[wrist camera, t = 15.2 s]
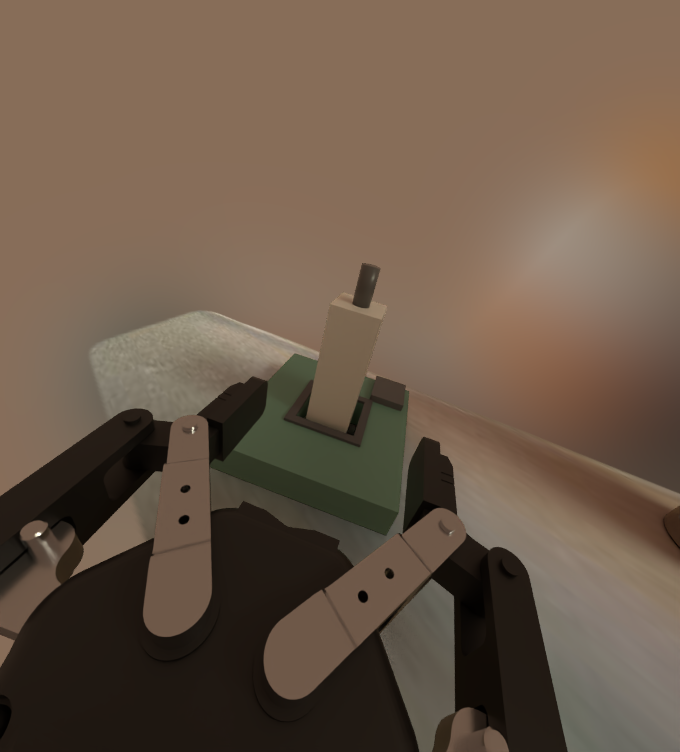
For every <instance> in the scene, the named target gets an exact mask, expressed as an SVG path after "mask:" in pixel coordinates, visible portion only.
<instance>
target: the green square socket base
mask: <svg viewBox="0 0 680 752" xmlns="http://www.w3.org/2000/svg"><path fill="white" fill-rule="evenodd" d="M317 364H318V361H316V360H313V359H310V358H307V357H304V356H301V355H298V354H294V355H293V356H292V357H291V358H290V359H289V360H288V361H287V362H286V363H285V364H284V365H283V366H282V367H281V368H280V369H279V370H278V371H277V372H276V373H275V374H274V375H273V377H272V378H271V379H270V380H269V381H268V389H267V400H266V407H265V410H264V412H263V414H262V416H261V417H260V418H259V420H258V421H257V422H256V423H255V424H254V426H253V427H252V428H251V429H250V430H249V431H248V433H247V434H246V435H245V436H244V437H243V439H242V440H241V441H240V442H239V443H238V445H237V446H236V447H235V448H234V449H233V450H232V452H231V453H230V454H229V455H228V456H227V458H226V459H225V460H224V461H223V462H222V461H219V460H217V459H214V460H213V461H212V462H211V464H210V467H211V468H214V469H216V470H219V471H222V472H224V473H227V474H229V475H232V476H234V477H237V478H240V479H242V480H245V481H247V482H250V483H252V484H255V485H258V486H260V487H263V488H265V489H268V490H270V491H273V492H275V493H278V494H281V495H283V496H286V497H288V498H291V499H293V500H296V501H299V502H301V503H304V504H306V505H309V506H311V507H314V508H317V509H319V510H322V511H324V512H327V513H329V514H332V515H335V516H337V517H340V518H342V519H345V520H347V521H350V522H352V523H355V524H358V525H360V526H363V527H365V528H368V529H370V530H373V531H376V532H378V533H381V534H383V535H386V534H387V533H388V531H389V529H390V527H391V525H392V524H393V522H394V520H395V518H396V516H397V515H398V513H399V503H400V491H401V480H402V468H403V457H404V445H405V434H406V422H407V411H408V399H409V391H407V390H405V387H406V385H403V384H400V383H397V382H394V381H391V380H388V379H385V378H382V377H379V376H377V377H376V380H374V379H371V378H368V377H365V379H364V382H363V385H362V388H361V391H360V394H359V397H358V400H357V403H356V407H355V410H354V413H353V416H352V419H351V422H350V423H352V424H355V425H357V427H356V430H355V433H354V436H352V435H349V434H347V433H344V432H341V431H338V430H335V429H333V428H330V427H327V426H324V425H321V424H319V423H316V422H313V421H310V420H307V419H304V418H305V417H306V415H307V411H308V406H309V401H310V397H311V392H312V387H313V382H314V378H315V373H316V368H317Z"/></svg>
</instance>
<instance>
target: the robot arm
mask: <svg viewBox="0 0 680 752" xmlns="http://www.w3.org/2000/svg"><path fill="white" fill-rule="evenodd" d="M267 389H268V382H267V381H265V380H262V379H259V378H256V377H251V378H250V379H249V380H248V381H247V382H246V383H245V384H243V383H237V384H234V385H232V386H230V387H229V388H227V389H226V390H225V391H224V392H223V393H222V394H220V395H219V396H218V398H216V399H215V400H213V401H212V402H211V403H210V404H209V405H208V406H206V407H205V408H204V409H203V410H202V411H201V412H199V413H198V414H197V415H187V416H183V417H181V418H179V419H177V420H176V421H174V422H167V421H157V420H153V415H152V413H151V412H149V411H148V410H145V409H130V410H126V411H123V412H121V413H119V414H117V415H116V416H115V417H113V418H112V419H110V420H109V421H107V422H106V423H104V424H103V425H102V426H100V427H99V428H97V429H96V430H95V431H93V432H92V433H90V434H89V435H87V436H86V437H85V438H83V439H82V440H80V441H79V442H77V443H76V444H74V445H73V446H72V447H70V448H69V449H67V450H66V451H64V452H63V453H62V454H60V455H59V456H57V457H56V458H54V459H53V460H52V461H50V462H49V463H47V464H46V465H44V466H43V467H41V468H40V469H39V470H37V471H36V472H34V473H33V474H32V475H30V476H29V477H27V478H26V479H24V480H23V481H22V482H20V483H19V484H17V485H16V486H14V487H13V488H11V489H10V490H9V491H7V492H6V493H4V494H3V495H1V496H0V635H2V636H5V637H7V638H10V639H13V640H15V642H14V644H13V646H12V648H11V650H10V652H9V654H8V655H7V657H6V659H5V661H4V663H3V664H2V666H1V667H0V752H419V749H418V744H417V740H416V736H415V733H414V730H413V727H412V724H411V721H410V718H409V716H408V713H407V710H406V707H405V704H404V702H403V699H402V696H401V693H400V690H399V687H398V685H397V682H396V679H395V676H394V673H393V671H392V668H391V665H390V662H389V659H388V657H387V654H386V651H385V648H384V645H383V642H382V640H381V637H380V633H381V632H382V631H383V630H384V629H385V628H386V626H387V625H388V624H389V623H390V622H391V621H392V620H393V619H394V618H395V617H396V616H397V615H398V614H399V612H400V611H401V610H402V609H403V608H404V607H405V606H406V605H407V604H408V603H409V602H410V601H411V600H412V599H413V598H414V597H415V596H416V595H417V594H418V593H419V592H420V591H421V590H422V589H423V587H424V586H425V585H426V584H427V583H428V582H429V581H430V580H431V579H433V580H435V581H436V582H437V583H438V584H440V585H441V586H442V587H443V588H445V589H446V590H447V591H448V592H450V593H451V594H452V595H453V596H454V635H455V713H453V714H451V715H448V716H446V717H445V718H443V719H442V720H441V721H440V723H439V725H438V727H437V730H436V734H435V741H434V747H433V750H432V752H568V751H567V747H566V742H565V738H564V733H563V729H562V724H561V720H560V715H559V710H558V706H557V701H556V697H555V692H554V688H553V683H552V679H551V674H550V670H549V665H548V660H547V656H546V651H545V647H544V642H543V638H542V633H541V629H540V624H539V619H538V615H537V610H536V606H535V601H534V597H533V592H532V588H531V583H530V579H529V575H528V572H527V570H526V568H525V566H524V565H523V564H522V562H521V561H520V560H519V559H518V558H517V557H516V556H515V555H514V554H513V553H511V552H510V551H508V550H506V549H504V548H501V547H494V548H492V549H490V551H489V550H488V549H486V548H485V547H484V546H482V545H481V544H479V543H478V542H476V541H475V540H474V539H472V538H471V537H470V536H469V535H468V534H467V533H466V530H465V527H464V524H463V523H462V521H461V520H460V519H459V517H458V516H457V508H456V497H455V486H454V478H453V476H454V475H453V466H452V464H451V462H450V460H449V459H448V457H447V456H444V455H441V454H440V443H439V442H437V441H434V440H432V439H429V438H426V437H423V438H422V439H421V441H420V443H419V445H418V447H417V449H416V451H415V453H414V455H413V457H412V459H411V462H410V465H409V469H408V479H407V490H406V502H405V513H404V525H403V534H402V535H401V534H400V533H398V534H396V535H395V536H393V537H392V538H391V539H389V540H388V541H387V542H386V543H384V544H383V545H382V546H380V547H379V548H378V549H376V550H375V551H374V552H373V553H371V554H370V555H369V556H367V557H366V558H365V559H364V560H362V561H361V562H360V563H358V564H357V565H356V566H353V565H352V563H351V562H350V561H349V559H348V558H347V557H346V556H345V555H344V554H343V553H342V552H341V551H340V550H338V549H337V548H338V545H339V540H337V539H335V538H332V537H330V536H327V535H325V534H322V533H320V532H317V531H315V530H307V529H299V528H292V527H287V526H286V525H284V524H283V523H282V522H280V521H279V520H278V519H277V518H275V517H274V516H273V515H271V514H270V513H269V512H267V511H266V510H264V509H261V508H259V507H256V506H254V505H252V504H249V503H247V502H244V501H243V502H242V504H241V505H240V507H239V508H225V509H219V510H215V511H212V512H211V488H210V464H211V462H212V461H213V460H214V459H217V460H219V461H222V462H223V461H224V460H225V459H226V458H227V456H228V455H229V454H230V453H231V452H232V450H233V449H234V448H235V447H236V446H237V445H238V443H239V442H240V441H241V440H242V439H243V437H244V436H245V435H246V434H247V433H248V431H249V430H250V429H251V428H252V427H253V426H254V424H255V423H256V422H257V421H258V420H259V418H260V417H261V416H262V414H263V412H264V410H265V407H266V400H267ZM155 471H160V472H163V473H162V481H161V489H160V497H159V505H158V514H157V522H156V530H155V538H153V539H150V540H148V541H146V542H144V543H142V544H140V545H138V546H136V547H133V548H131V549H129V550H127V551H125V552H122V553H120V554H118V555H116V556H114V557H112V558H110V559H108V560H105V561H103V562H101V563H99V564H97V565H95V566H92V567H90V568H88V569H86V570H84V571H82V572H80V573H78V574H76V575H74V576H73V577H71V578H70V576H71V575H72V574H73V571H74V569H75V568H76V567H77V566H78V564H79V563H80V561H81V559H82V556H83V552H84V551H83V550H84V549H83V545H84V544H85V543H86V542H87V541H88V540H89V538H90V537H91V536H92V535H93V534H94V533H95V532H96V531H97V530H98V529H99V528H100V527H101V526H102V525H103V524H104V523H105V522H106V521H107V520H108V519H109V518H110V517H111V516H112V515H113V514H114V513H115V512H116V511H117V510H118V508H120V507H121V506H122V505H123V504H124V503H125V501H127V500H128V499H129V498H130V496H131V495H132V494H133V493H134V492H135V491H136V490H137V489H138V488H139V487H140V486H141V485H142V484H143V483H144V482H145V481H146V480H147V479H148V478H149V477H150V476H151V475H152V474H153V473H154V472H155ZM664 523H665V526H666V529H667V531H668V533H669V534H670V535H671V537H672V538H673V540H674V541H675V542H676V543H677V545H678V546H679V547H680V506H678V507H677V508H675V509H674V510H673V511H671V512H670V513H668V514H667V515H666V516H665V518H664Z"/></svg>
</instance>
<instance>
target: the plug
mask: <svg viewBox="0 0 680 752" xmlns="http://www.w3.org/2000/svg"><path fill="white" fill-rule="evenodd" d="M379 272H380V268H379V267H377V266H375V265H371V264H366V263H362V266H361V270H360V274H359V278H358V282H357V286H356V290H355V295H354V296H353V295H350V294H347V293H342V294H341V295H340V296H338V297H337V298H336V299H335V300H334V301H333V302H332V303H331V304H330V307H329V312H328V317H327V321H326V326H325V331H324V335H323V340H322V345H321V349H320V354H319V359H318V364H317V368H316V373H315V378H314V382H313V387H312V392H311V397H310V401H309V406H308V411H307V416H306V419H307V420H310V421H313V422H316V423H319V424H321V425H324V426H327V427H330V428H333V429H335V430H338V431H341V432H344V433H347V431H348V428H349V425H350V422H351V419H352V416H353V413H354V410H355V407H356V403H357V400H358V397H359V394H360V391H361V388H362V385H363V382H364V379H365V375H366V372H367V369H368V366H369V363H370V360H371V357H372V354H373V350H374V347H375V344H376V341H377V338H378V335H379V332H380V328H381V325H382V322H383V319H384V316H385V313H386V310H387V305H383V304H380V303H377V302H373V301H371V300H372V296H373V293H374V289H375V286H376V282H377V279H378V275H379Z"/></svg>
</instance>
